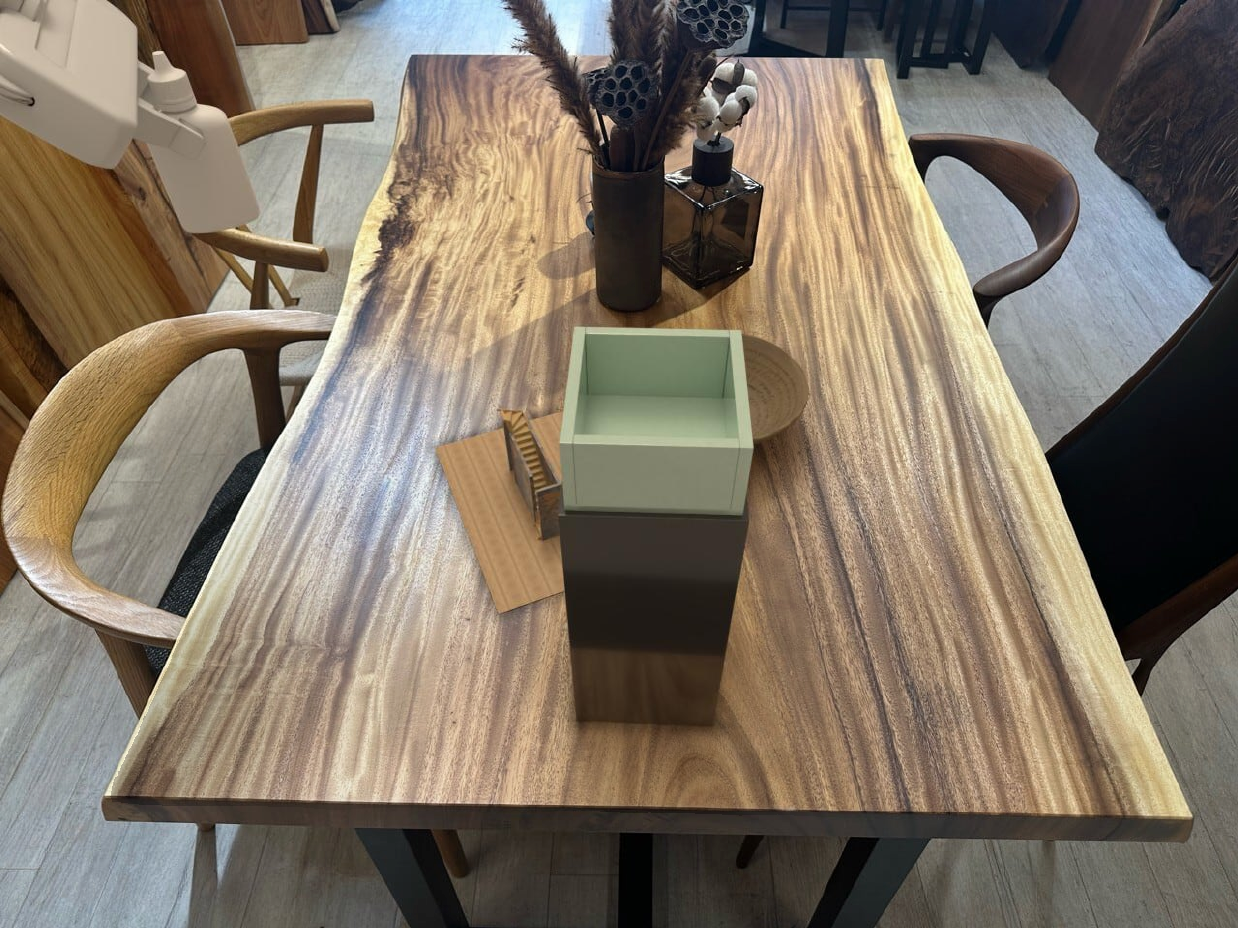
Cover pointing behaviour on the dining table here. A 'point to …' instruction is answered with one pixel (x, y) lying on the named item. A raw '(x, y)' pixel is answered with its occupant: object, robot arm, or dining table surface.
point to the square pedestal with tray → (652, 518)
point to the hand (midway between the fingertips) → (199, 133)
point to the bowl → (772, 388)
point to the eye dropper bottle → (200, 159)
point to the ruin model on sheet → (532, 470)
